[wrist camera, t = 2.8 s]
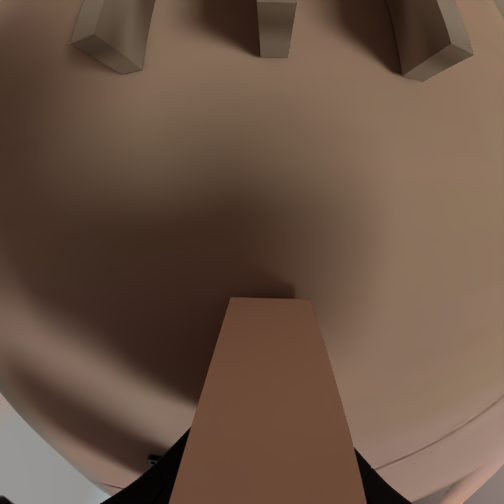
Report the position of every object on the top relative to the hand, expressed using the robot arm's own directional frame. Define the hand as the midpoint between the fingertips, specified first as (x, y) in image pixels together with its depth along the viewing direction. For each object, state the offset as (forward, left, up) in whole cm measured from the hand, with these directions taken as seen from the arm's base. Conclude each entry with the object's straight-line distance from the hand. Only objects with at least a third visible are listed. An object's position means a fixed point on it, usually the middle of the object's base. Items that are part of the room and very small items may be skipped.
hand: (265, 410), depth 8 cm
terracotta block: (0, 0, -2) cm, 2 cm away
